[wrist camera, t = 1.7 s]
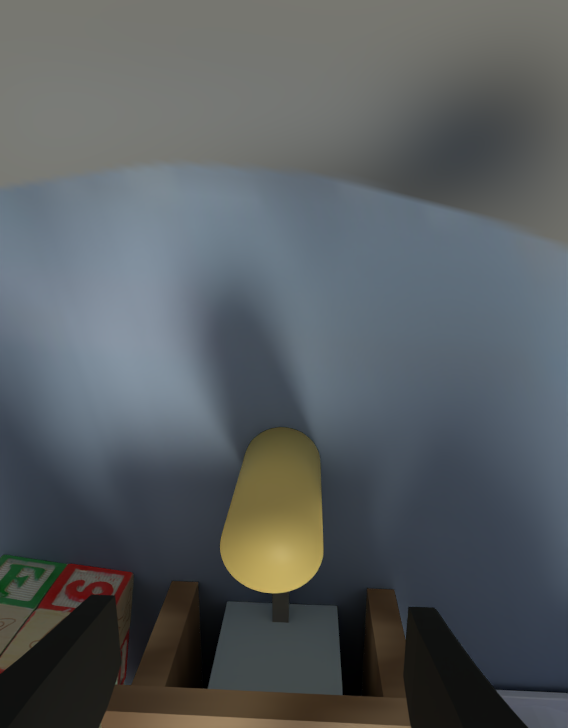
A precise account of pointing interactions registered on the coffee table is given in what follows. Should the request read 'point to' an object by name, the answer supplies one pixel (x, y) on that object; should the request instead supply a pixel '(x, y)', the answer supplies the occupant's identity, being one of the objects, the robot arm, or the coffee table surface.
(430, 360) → the coffee table surface
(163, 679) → the open wooden box
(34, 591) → the stack of blocks
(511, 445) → the coffee table surface
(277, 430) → the cube joystick
